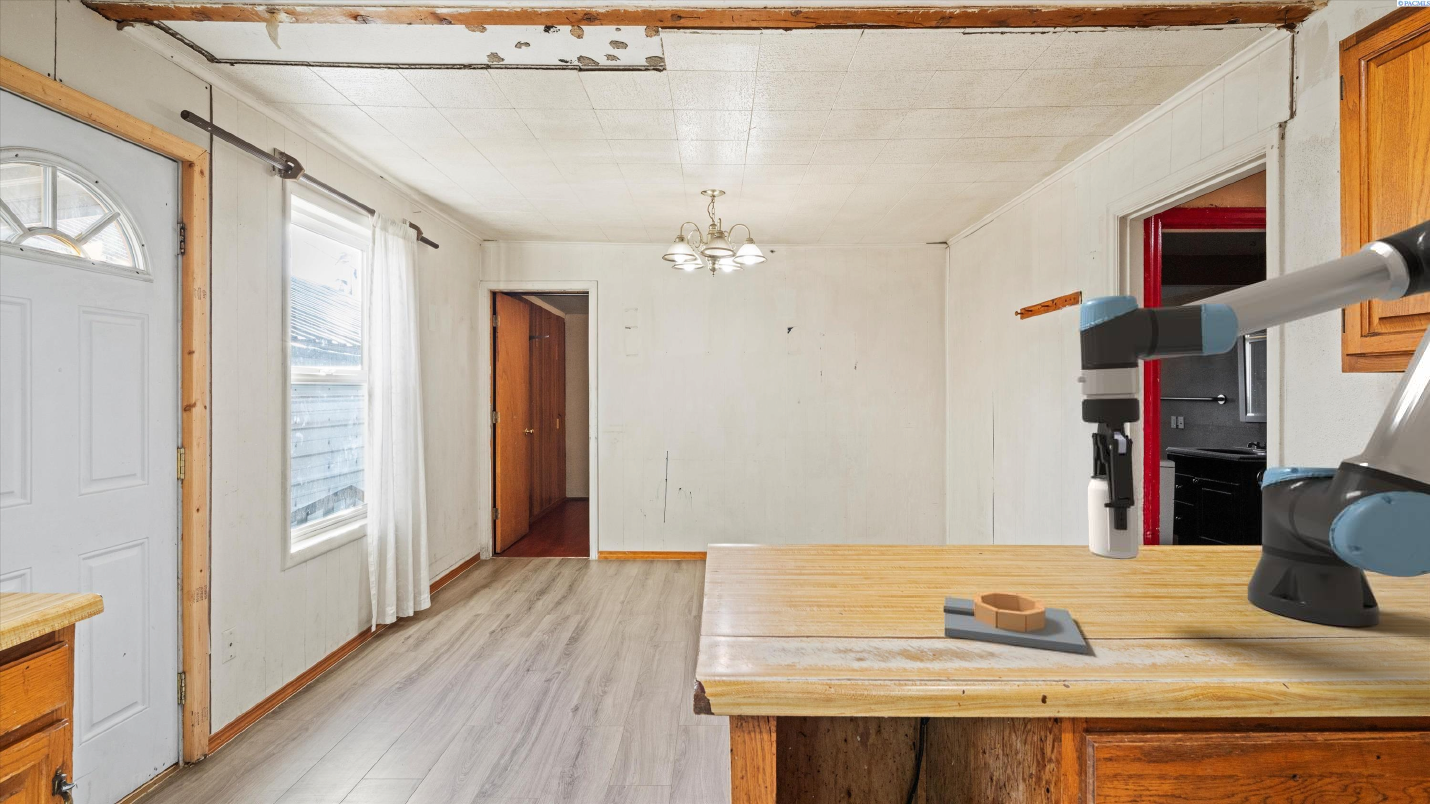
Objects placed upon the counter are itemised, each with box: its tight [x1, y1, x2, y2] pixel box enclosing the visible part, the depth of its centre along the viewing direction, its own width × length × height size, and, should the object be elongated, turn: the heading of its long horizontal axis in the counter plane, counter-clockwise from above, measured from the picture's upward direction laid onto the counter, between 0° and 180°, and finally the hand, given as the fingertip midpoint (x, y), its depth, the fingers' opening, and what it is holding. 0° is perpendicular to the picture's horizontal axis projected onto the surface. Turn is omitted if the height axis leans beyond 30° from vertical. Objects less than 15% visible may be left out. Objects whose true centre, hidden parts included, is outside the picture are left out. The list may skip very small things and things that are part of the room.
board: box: [943, 590, 1087, 655], centre depth 92 cm, size 18×14×4 cm
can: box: [1087, 475, 1140, 560], centre depth 95 cm, size 6×6×12 cm
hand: (1113, 544), depth 95 cm, fingers closed on can, 6 cm apart
